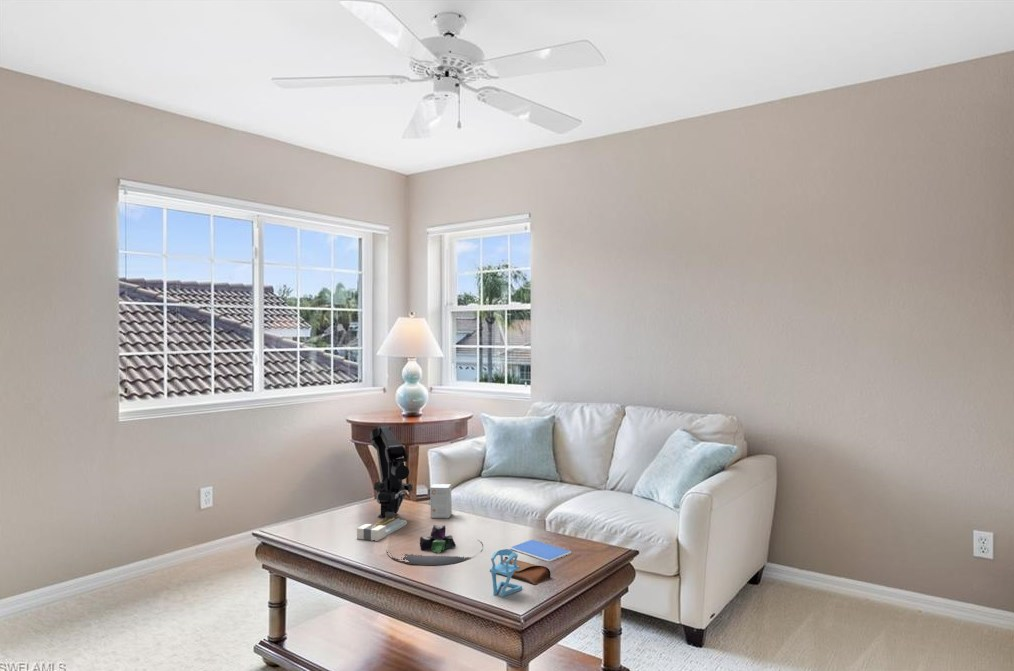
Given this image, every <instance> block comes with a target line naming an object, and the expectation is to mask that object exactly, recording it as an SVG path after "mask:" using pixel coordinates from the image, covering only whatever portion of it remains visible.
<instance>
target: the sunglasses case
mask: <svg viewBox="0 0 1014 671" xmlns="http://www.w3.org/2000/svg"><path fill="white" fill-rule="evenodd" d="M508 557H509V556H505V557H504V558H503V563H506V560H507V559H508ZM514 559H515V558H513V559H512V560H511V561H510V562H509V564H510V565H514V564H513V562H514ZM516 565H517V566H519V569H518V570H516V571H515V572H514V574H513V575H512V577H511V579H514V580H517V581H521V582H525V583H529V584H531V585H535V586H536V585H539V584H540V583H543V581H546V580H548V579H549V578H551V571H550V570H551V569H549V568H548V567H546V566H544V565H537V564H533V563H530V562H527V561H522V560H518V559H517V560H516ZM496 575H498V576H503V577H506V578H507V576H505V575H502V574H498V573H496Z"/></svg>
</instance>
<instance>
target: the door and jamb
mask: <svg viewBox="0 0 1014 671" xmlns="http://www.w3.org/2000/svg"><path fill="white" fill-rule="evenodd" d="M407 523H408V521H407V520H404V519H400V518H399V517H398V518H394V520H393V521H392V522H390V523H388V524H386V525H384V526H382V525H379V526H377V527H376V526H375V524H374V525H373V524H372V523H365V524H363V525H361V526H358V527H357V528H356V539H357V538H358V540H364V539H367V540H366V541H373V540H375V542H378V541H380V540H381V539H384V538H385V537H387V536H388V535H390V534H392V533H394V532H396V531H398V530H400V529H401V528H402V527H404V526H406V525H407Z"/></svg>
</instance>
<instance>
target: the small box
mask: <svg viewBox="0 0 1014 671" xmlns="http://www.w3.org/2000/svg"><path fill="white" fill-rule="evenodd" d="M429 491H430V495H429V496H430V498H429V499H430V518H432V519H434V518H435V519H450V517H451V515H452V514H453V512H452V511H453V510H452V508H453V507H452V505H453V504H452V484H450V483H444V484H441V483H439V484H437V483H434V484H432V485H431V486H430V487H429Z"/></svg>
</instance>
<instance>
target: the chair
mask: <svg viewBox="0 0 1014 671" xmlns="http://www.w3.org/2000/svg"><path fill="white" fill-rule="evenodd" d="M497 556H499V557H500V562H499V563H498V564H496V563H495V559H496V557H497ZM503 556H506V557H508V559H507V560H506V563H503V560H504V557H503ZM518 556H519V555H518V553H516V551H514V550H511V549H510V548H503V549H499V550H497V551H495V552H494V553H493V554H492V557H490V560H491V563H492V567H491V568H489V572H490V574H491V579H492V588H493V589H492V590H493V591H492V592H493V594H492V596H497V595H498V593H499V591H500V590H501V591H500V598H504V597H506V596H508V595H511V594H513V593H516V592H518V591H522V590H523V585H519V584H515V583H510V580H511V579H512V578H511V577H512V575H513V574H514V572H515V571H516V570H518V569H519V566H517V565H516V560H518ZM512 559H514V562H513V564H514V565H510V564H509V562H510V561H511V560H512ZM496 573H498V574H502V575H505V576H504V577H506V576H507V577H506V580H505V581H501V580H500V581H499V582H498V583H497V575H498V574H496ZM502 575H501V576H502ZM502 586H503V587H502ZM501 587H502V588H501ZM507 587H509V588H511V589H507Z"/></svg>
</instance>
